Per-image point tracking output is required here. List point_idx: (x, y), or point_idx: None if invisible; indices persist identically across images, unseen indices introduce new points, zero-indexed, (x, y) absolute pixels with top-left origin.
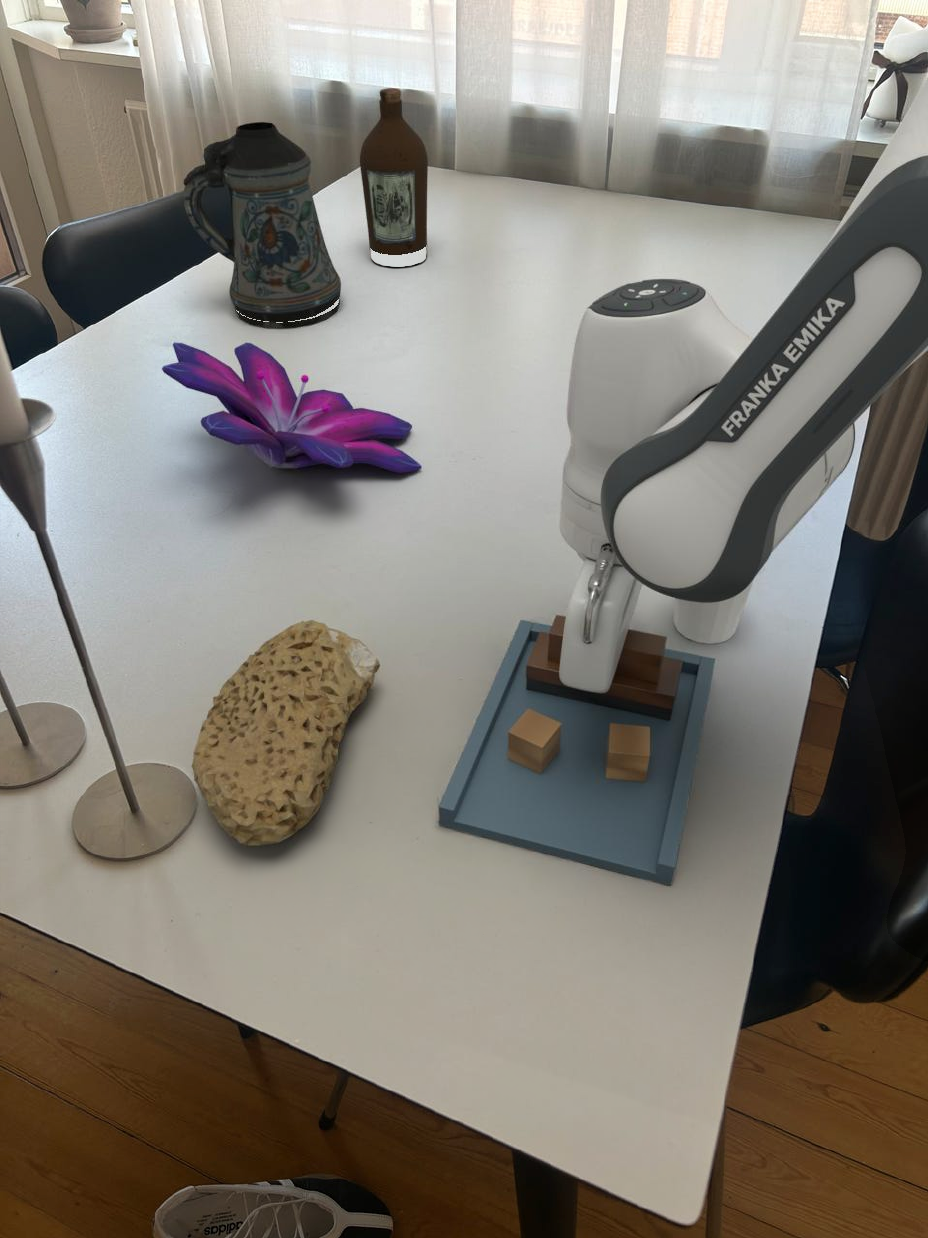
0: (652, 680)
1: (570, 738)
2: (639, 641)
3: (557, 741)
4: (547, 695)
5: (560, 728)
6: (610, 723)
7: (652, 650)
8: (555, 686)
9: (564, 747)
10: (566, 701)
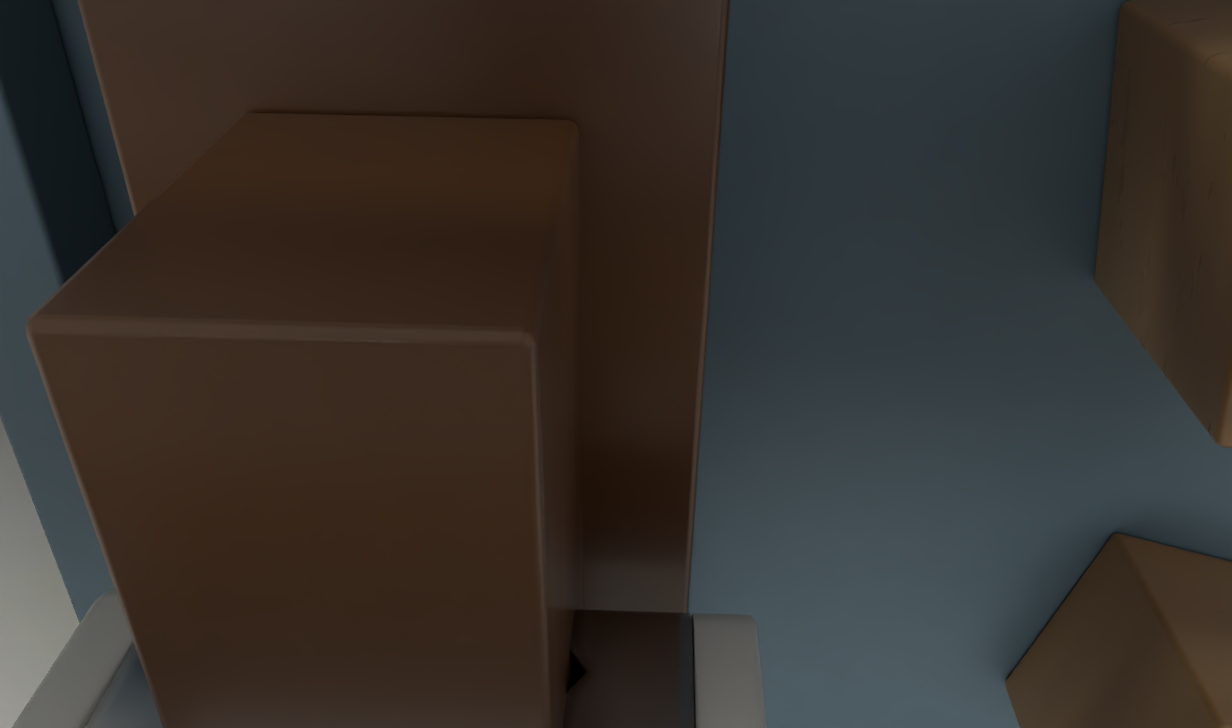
0: (576, 189)
1: (1010, 496)
2: (343, 635)
3: (1208, 628)
4: None
5: (1226, 703)
6: (1220, 444)
7: (458, 476)
8: None
9: (1091, 512)
10: None
